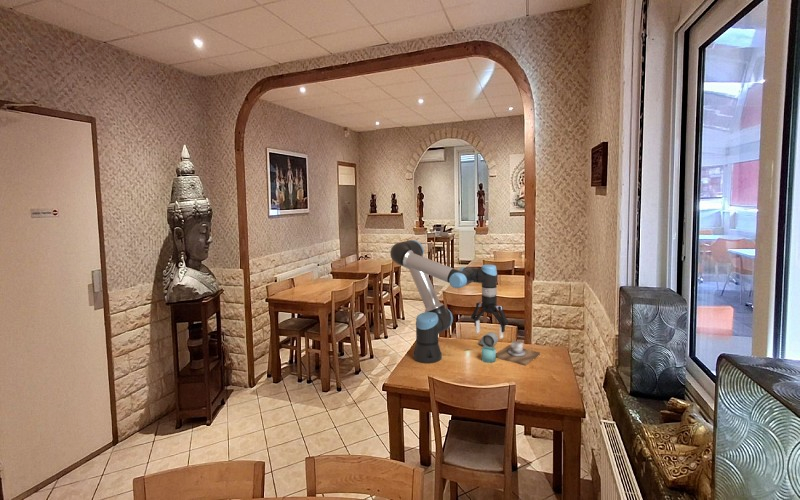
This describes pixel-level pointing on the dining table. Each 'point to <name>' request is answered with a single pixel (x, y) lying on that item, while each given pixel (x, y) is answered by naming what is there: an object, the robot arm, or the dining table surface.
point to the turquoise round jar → (488, 354)
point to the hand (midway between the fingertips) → (489, 335)
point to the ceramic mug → (489, 339)
